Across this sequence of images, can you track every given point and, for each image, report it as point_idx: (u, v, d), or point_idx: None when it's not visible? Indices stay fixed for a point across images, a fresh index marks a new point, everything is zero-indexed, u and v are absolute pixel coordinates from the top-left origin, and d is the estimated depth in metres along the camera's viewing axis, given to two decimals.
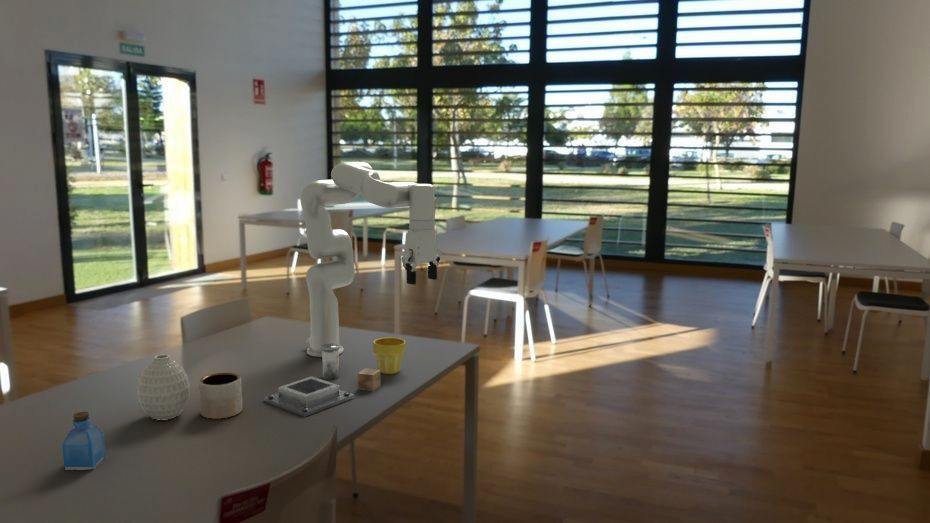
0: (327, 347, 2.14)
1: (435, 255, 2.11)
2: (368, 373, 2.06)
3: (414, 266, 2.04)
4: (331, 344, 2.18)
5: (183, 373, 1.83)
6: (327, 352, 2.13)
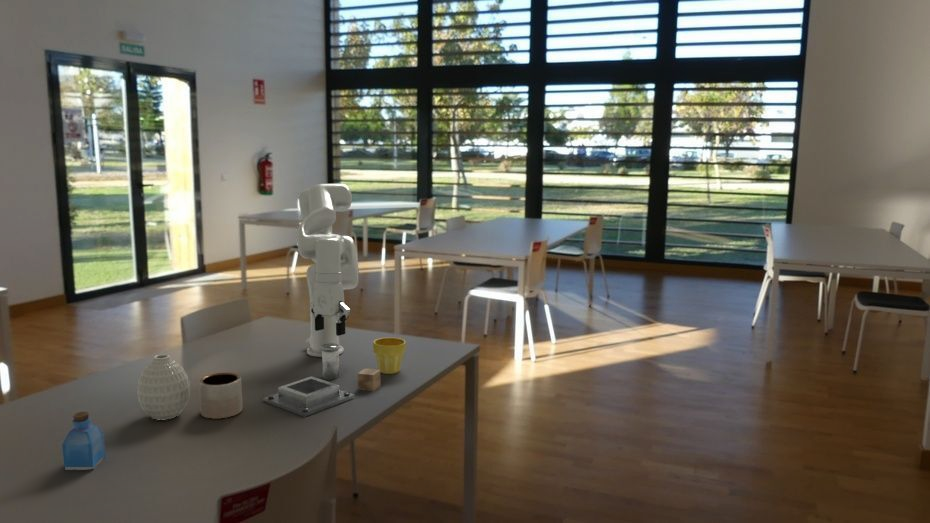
0: (327, 347, 2.14)
1: None
2: (368, 373, 2.06)
3: None
4: (331, 344, 2.18)
5: (183, 373, 1.83)
6: (327, 352, 2.13)
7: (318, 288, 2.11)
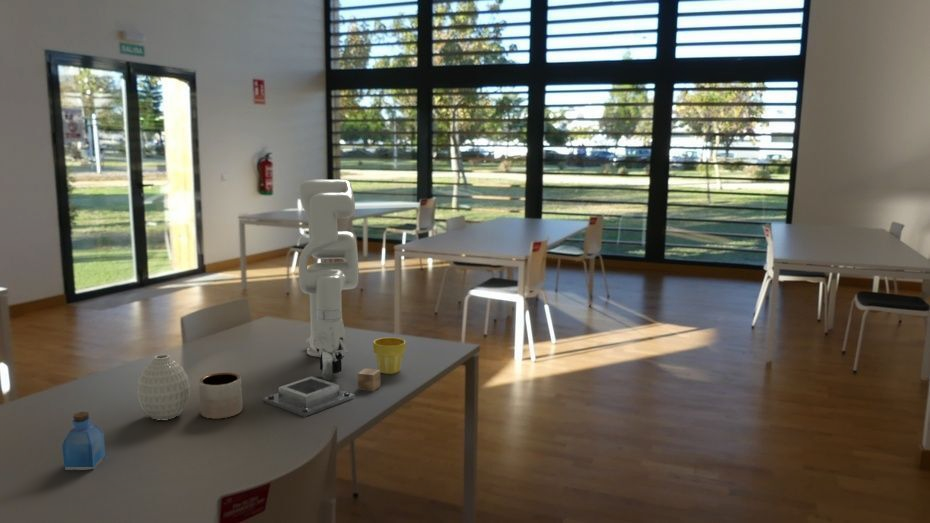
0: None
1: None
2: (368, 373, 2.06)
3: None
4: None
5: (183, 373, 1.83)
6: (327, 352, 2.13)
7: (319, 324, 2.13)
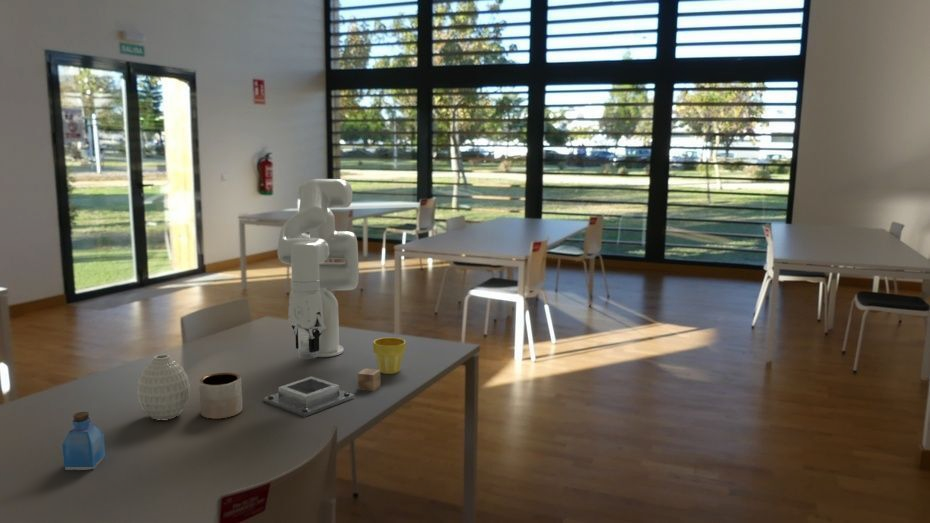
0: None
1: None
2: (368, 373, 2.06)
3: None
4: None
5: (183, 373, 1.83)
6: (303, 328, 1.92)
7: (294, 297, 1.92)
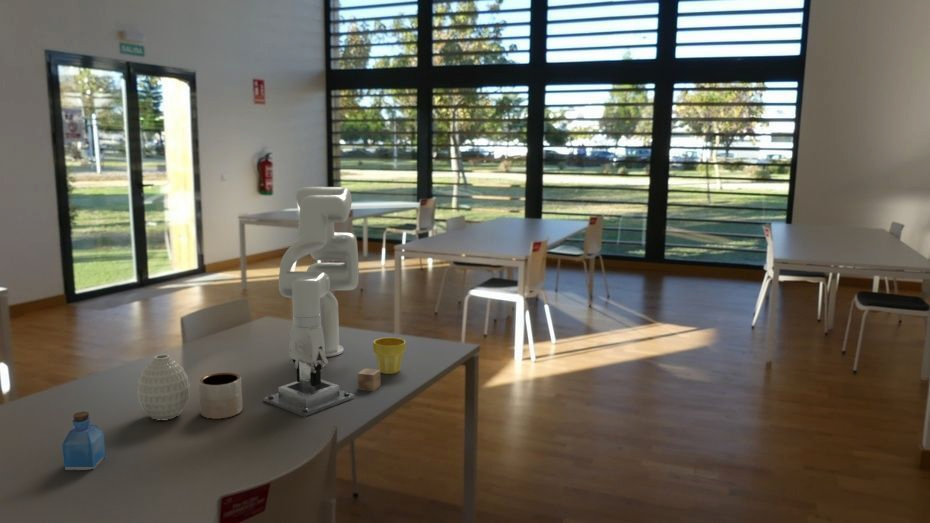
0: None
1: None
2: (368, 373, 2.06)
3: None
4: None
5: (183, 373, 1.83)
6: (305, 363, 1.94)
7: (295, 332, 1.93)
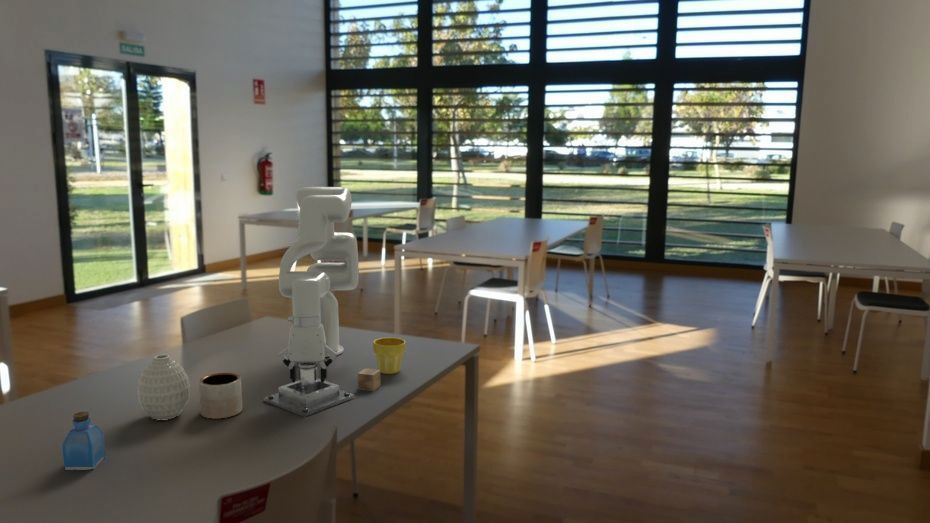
0: (308, 364, 1.94)
1: None
2: (368, 373, 2.06)
3: None
4: None
5: (183, 373, 1.83)
6: (310, 369, 1.94)
7: (299, 333, 1.92)
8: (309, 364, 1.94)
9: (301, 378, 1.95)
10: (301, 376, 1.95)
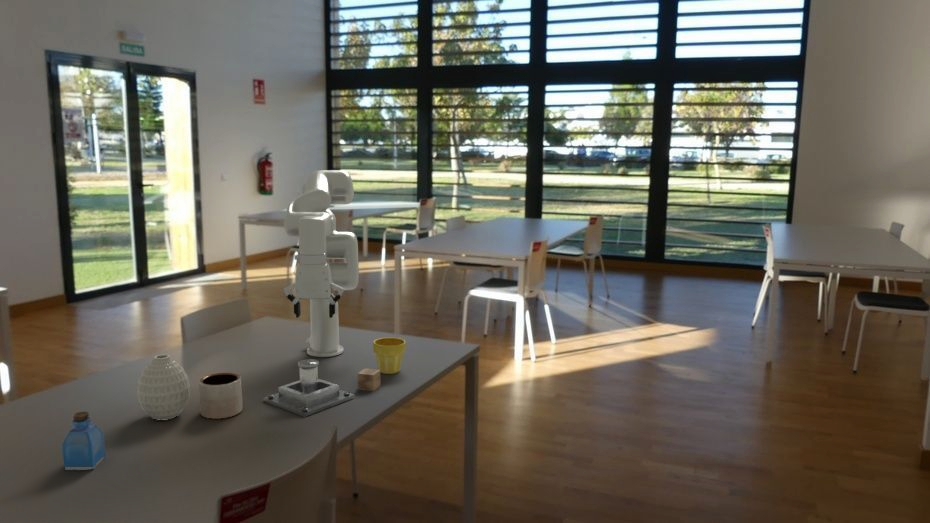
0: (309, 364, 1.95)
1: None
2: (368, 373, 2.06)
3: None
4: (304, 360, 1.98)
5: (183, 373, 1.83)
6: (311, 369, 1.94)
7: (305, 271, 1.97)
8: (310, 364, 1.95)
9: (302, 378, 1.95)
10: (302, 376, 1.95)
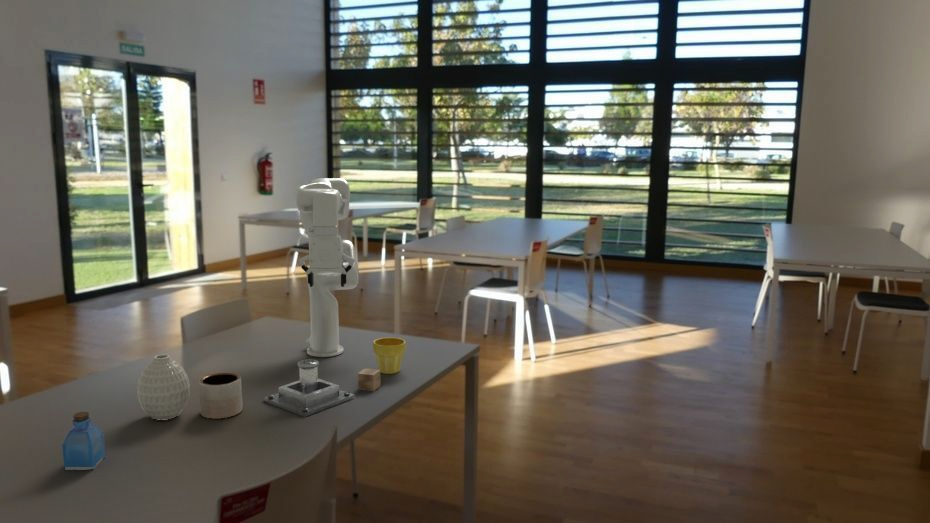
0: (309, 364, 1.95)
1: None
2: (368, 373, 2.06)
3: None
4: (304, 360, 1.98)
5: (183, 373, 1.83)
6: (311, 369, 1.94)
7: (318, 242, 2.11)
8: (310, 364, 1.95)
9: (301, 378, 1.95)
10: (301, 376, 1.95)
